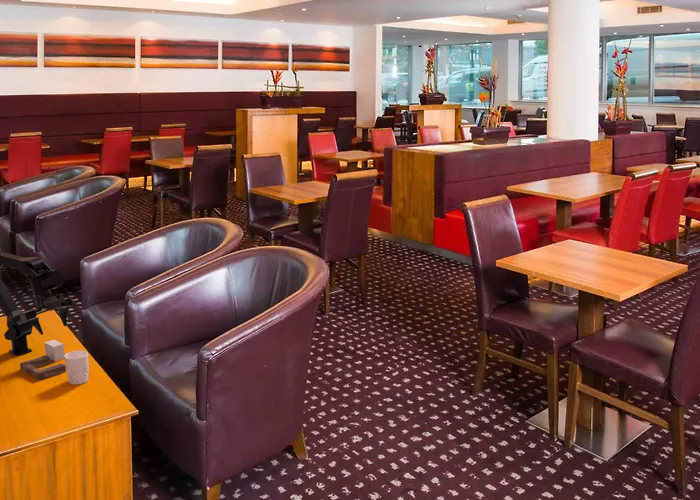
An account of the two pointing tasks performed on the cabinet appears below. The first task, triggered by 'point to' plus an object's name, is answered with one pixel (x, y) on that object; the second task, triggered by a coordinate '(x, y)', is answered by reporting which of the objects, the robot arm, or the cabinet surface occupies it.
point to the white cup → (77, 366)
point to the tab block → (54, 350)
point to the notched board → (41, 374)
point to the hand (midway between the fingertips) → (53, 330)
